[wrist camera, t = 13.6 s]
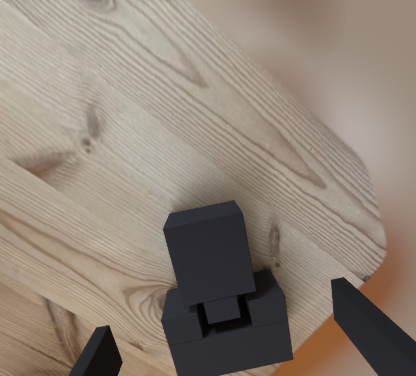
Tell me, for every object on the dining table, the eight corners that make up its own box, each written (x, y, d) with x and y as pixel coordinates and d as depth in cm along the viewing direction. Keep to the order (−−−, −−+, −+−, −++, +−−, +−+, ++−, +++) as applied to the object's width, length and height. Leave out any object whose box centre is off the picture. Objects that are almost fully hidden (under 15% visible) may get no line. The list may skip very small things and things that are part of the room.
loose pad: (234, 199, 21) (242, 212, 17) (249, 285, 23) (260, 313, 19) (169, 213, 21) (162, 228, 17) (190, 297, 23) (189, 328, 19)
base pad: (269, 269, 23) (284, 294, 19) (278, 325, 24) (293, 360, 20) (167, 290, 22) (160, 320, 19) (182, 346, 24) (180, 384, 20)
